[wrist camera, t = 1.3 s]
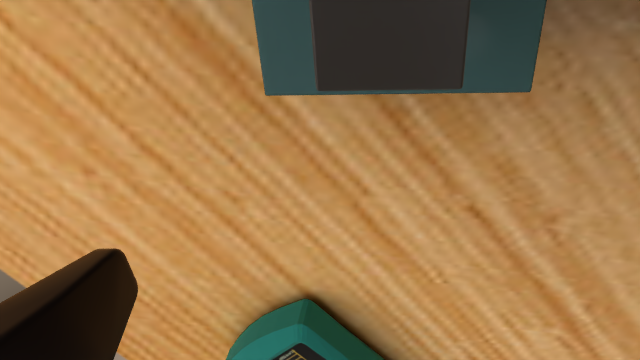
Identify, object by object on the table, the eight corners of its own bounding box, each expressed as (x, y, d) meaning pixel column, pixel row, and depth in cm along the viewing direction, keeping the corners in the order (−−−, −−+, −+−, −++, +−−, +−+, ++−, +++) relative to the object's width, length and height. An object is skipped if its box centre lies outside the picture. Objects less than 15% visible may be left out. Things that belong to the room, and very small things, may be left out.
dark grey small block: (454, -69, 11) (476, -55, 8) (447, 38, 12) (462, 90, 9) (333, -60, 12) (304, -44, 8) (338, 42, 13) (315, 92, 10)
